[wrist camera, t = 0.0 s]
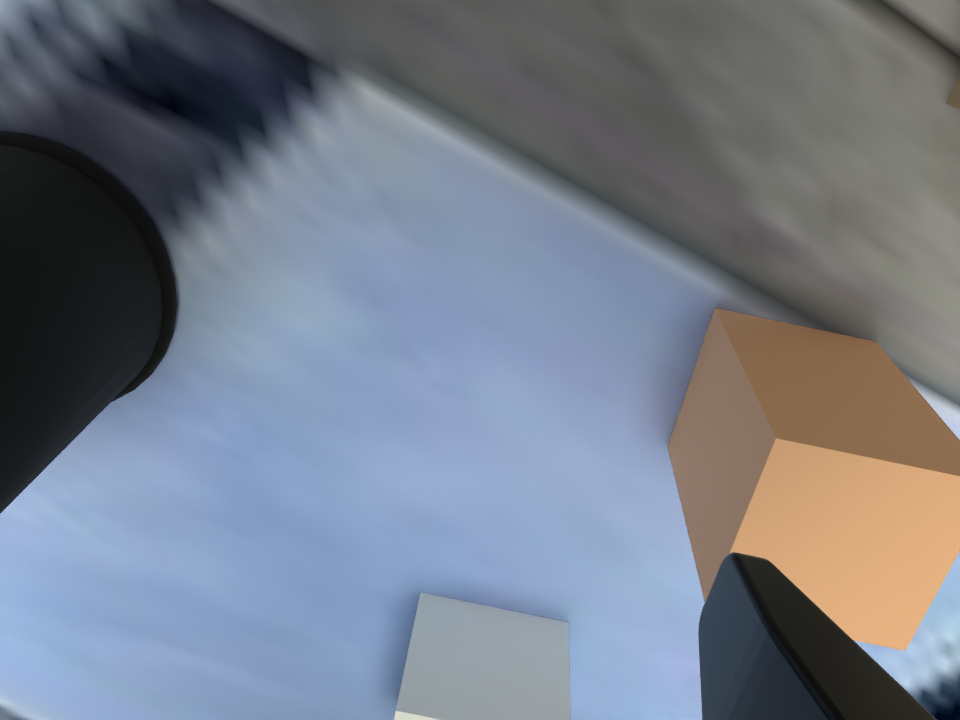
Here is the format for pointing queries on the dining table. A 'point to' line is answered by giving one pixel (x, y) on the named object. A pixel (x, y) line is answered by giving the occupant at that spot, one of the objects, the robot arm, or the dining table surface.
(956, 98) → the birch cube
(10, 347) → the aerosol can
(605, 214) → the dining table surface
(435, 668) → the off-white cube
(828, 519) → the brown block
